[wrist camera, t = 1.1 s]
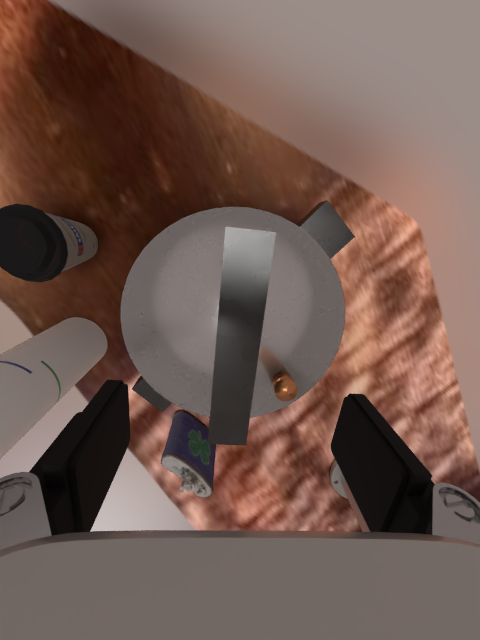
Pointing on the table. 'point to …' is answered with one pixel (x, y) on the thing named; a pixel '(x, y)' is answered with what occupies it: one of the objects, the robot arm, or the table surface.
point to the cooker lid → (232, 316)
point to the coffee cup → (42, 243)
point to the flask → (190, 454)
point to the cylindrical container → (44, 374)
